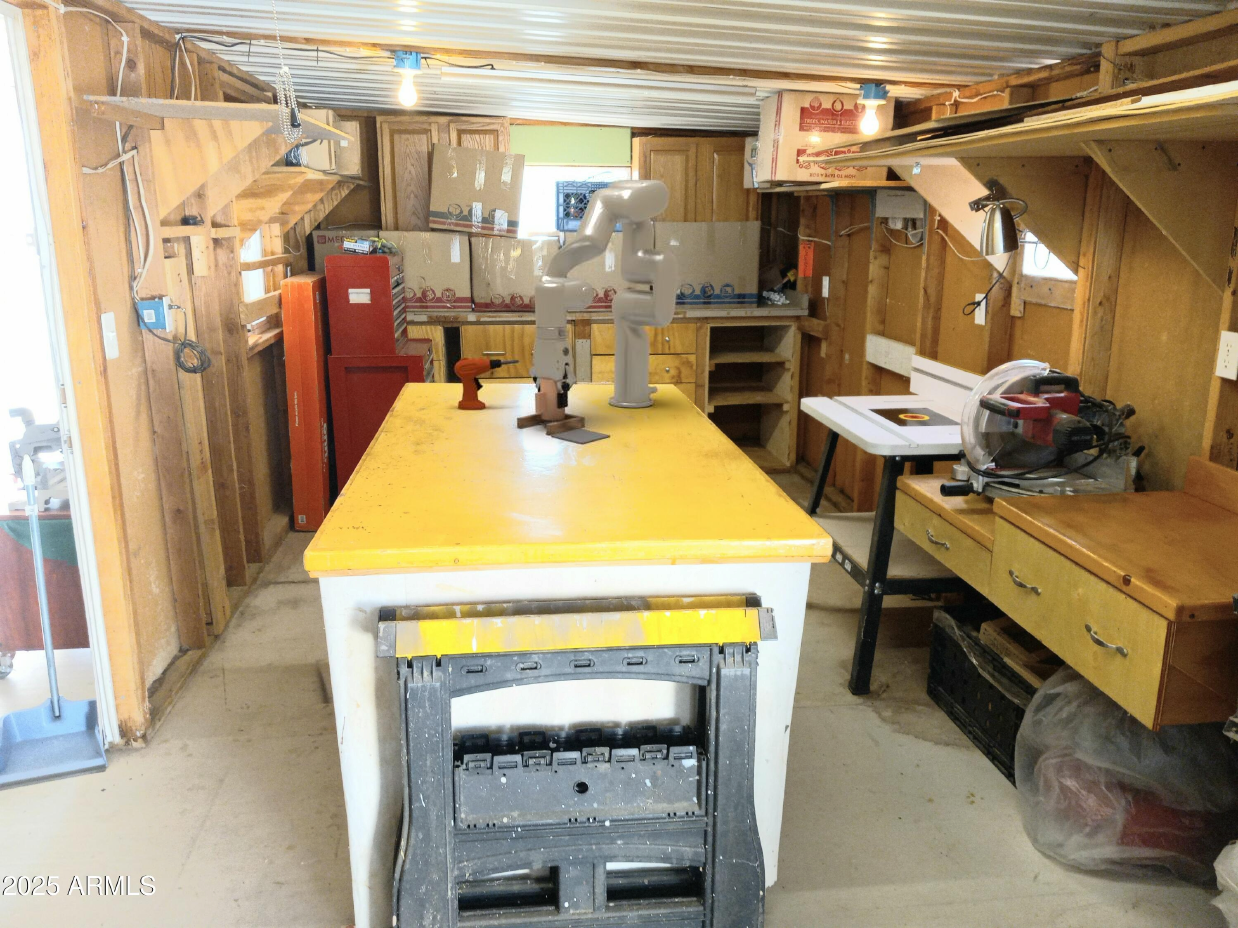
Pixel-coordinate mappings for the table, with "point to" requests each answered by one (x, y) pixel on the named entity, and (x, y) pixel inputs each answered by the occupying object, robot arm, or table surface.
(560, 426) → the brown wooden u-shaped piece
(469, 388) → the toy drill
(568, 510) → the table surface
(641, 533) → the table surface
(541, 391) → the pink mug
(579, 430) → the mat
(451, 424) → the table surface
